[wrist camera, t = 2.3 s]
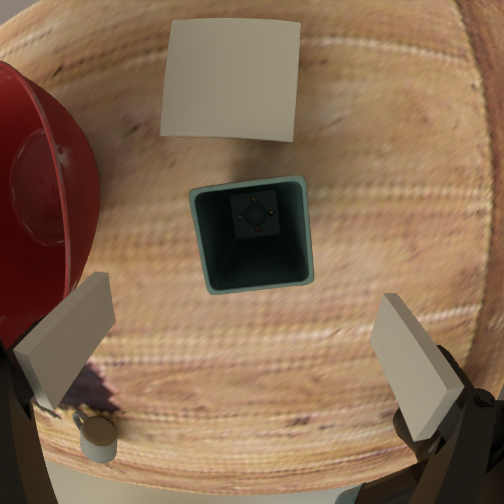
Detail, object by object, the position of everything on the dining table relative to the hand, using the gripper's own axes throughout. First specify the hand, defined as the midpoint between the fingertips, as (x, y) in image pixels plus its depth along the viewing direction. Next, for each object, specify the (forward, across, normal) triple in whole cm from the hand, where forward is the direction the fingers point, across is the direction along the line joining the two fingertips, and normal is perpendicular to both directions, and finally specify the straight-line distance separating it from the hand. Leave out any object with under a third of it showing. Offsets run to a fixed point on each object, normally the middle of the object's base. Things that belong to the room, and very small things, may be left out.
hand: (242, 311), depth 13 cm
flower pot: (+19, 0, 0) cm, 19 cm away
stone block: (+19, +3, -13) cm, 23 cm away
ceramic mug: (+19, +28, +42) cm, 54 cm away
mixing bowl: (+19, +26, -2) cm, 32 cm away
